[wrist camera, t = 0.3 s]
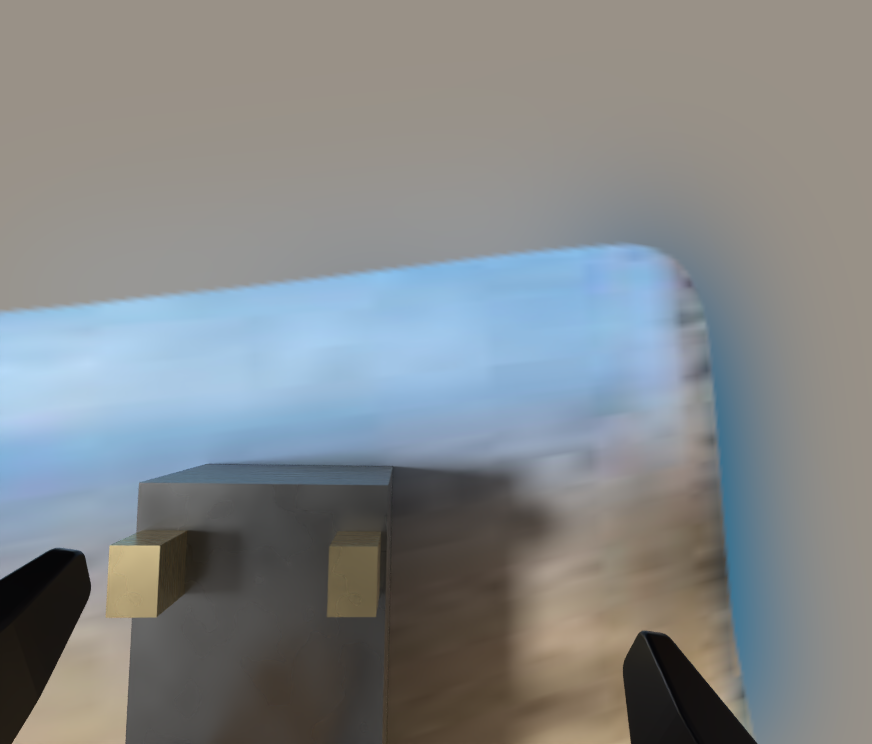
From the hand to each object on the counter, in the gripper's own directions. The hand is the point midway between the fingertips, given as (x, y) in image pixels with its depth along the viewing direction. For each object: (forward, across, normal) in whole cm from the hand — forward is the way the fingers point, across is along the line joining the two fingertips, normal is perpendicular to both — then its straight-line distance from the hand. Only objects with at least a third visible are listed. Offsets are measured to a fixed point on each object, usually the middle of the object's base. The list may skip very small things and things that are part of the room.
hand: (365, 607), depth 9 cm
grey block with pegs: (+9, +3, +14) cm, 17 cm away
